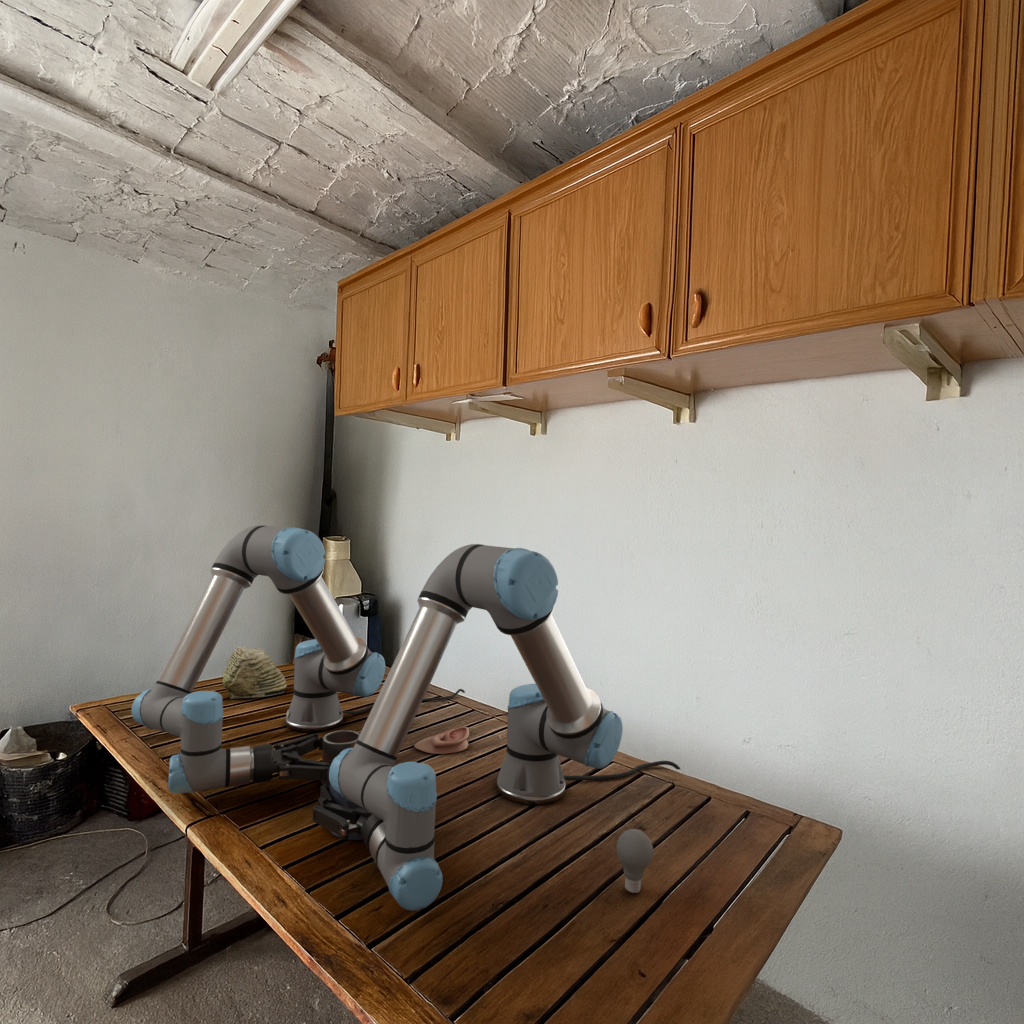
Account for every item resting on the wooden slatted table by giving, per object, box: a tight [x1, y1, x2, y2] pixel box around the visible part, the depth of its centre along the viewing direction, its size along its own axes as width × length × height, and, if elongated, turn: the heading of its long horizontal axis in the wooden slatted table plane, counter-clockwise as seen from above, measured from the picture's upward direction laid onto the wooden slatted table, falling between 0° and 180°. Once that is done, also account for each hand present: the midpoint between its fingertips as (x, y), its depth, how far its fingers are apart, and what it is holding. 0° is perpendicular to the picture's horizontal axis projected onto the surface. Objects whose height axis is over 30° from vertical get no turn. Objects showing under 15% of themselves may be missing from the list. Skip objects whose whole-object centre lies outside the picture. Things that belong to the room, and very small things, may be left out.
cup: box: [320, 729, 361, 790], centre depth 141 cm, size 8×8×10 cm
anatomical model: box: [414, 726, 470, 755], centre depth 164 cm, size 13×4×12 cm
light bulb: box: [615, 828, 654, 894], centre depth 106 cm, size 6×6×10 cm
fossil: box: [222, 646, 288, 699], centre depth 198 cm, size 9×18×15 cm, turn 132°
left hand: (354, 751), depth 142 cm, fingers open, 13 cm apart
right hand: (357, 786), depth 126 cm, fingers open, 13 cm apart
